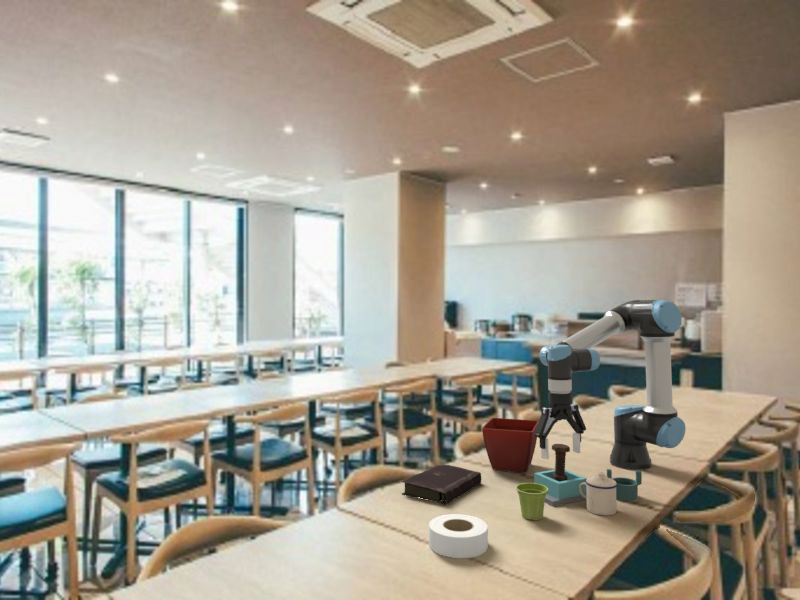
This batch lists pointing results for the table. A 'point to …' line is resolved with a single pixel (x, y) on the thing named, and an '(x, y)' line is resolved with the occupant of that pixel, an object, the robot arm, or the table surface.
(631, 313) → the robot arm
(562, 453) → the bolt
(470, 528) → the roll of tape
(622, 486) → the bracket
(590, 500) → the teacup with lid
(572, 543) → the table surface
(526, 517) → the plant pot
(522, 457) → the plant pot
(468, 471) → the diary
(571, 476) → the socket
